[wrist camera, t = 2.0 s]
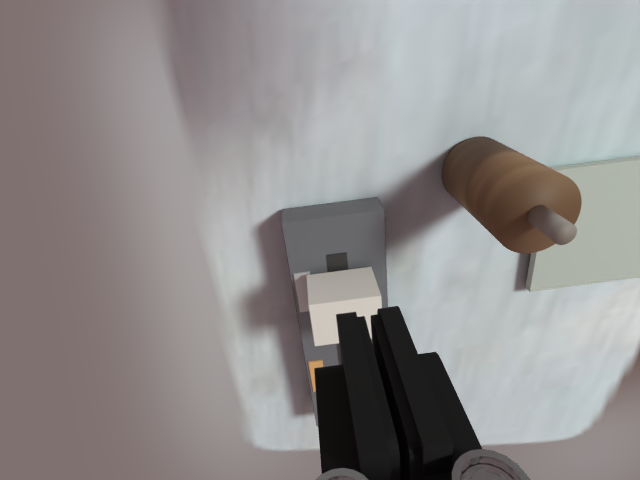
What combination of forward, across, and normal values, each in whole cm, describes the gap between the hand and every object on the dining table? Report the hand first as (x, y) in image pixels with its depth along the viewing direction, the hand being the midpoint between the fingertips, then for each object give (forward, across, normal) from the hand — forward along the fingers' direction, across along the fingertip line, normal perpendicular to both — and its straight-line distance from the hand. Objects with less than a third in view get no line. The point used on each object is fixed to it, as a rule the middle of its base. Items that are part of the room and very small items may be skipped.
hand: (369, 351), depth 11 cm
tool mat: (+15, -18, +6) cm, 24 cm away
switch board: (+15, 0, +11) cm, 18 cm away
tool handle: (+15, -9, +1) cm, 17 cm away
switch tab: (+12, 0, +7) cm, 14 cm away
